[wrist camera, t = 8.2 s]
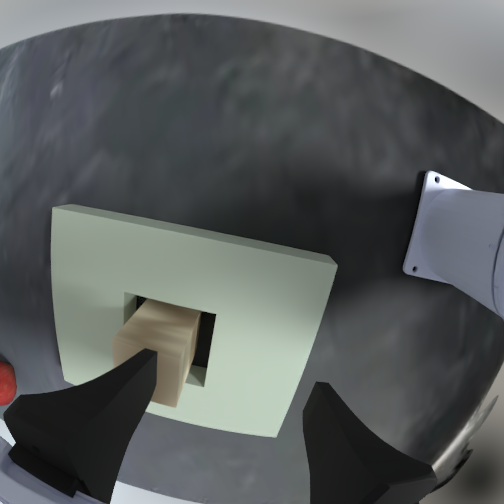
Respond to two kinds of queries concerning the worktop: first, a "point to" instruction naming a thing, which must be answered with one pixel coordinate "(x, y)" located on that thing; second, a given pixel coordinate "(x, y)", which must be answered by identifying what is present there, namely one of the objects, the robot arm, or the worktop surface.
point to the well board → (195, 297)
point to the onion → (7, 383)
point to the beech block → (161, 344)
